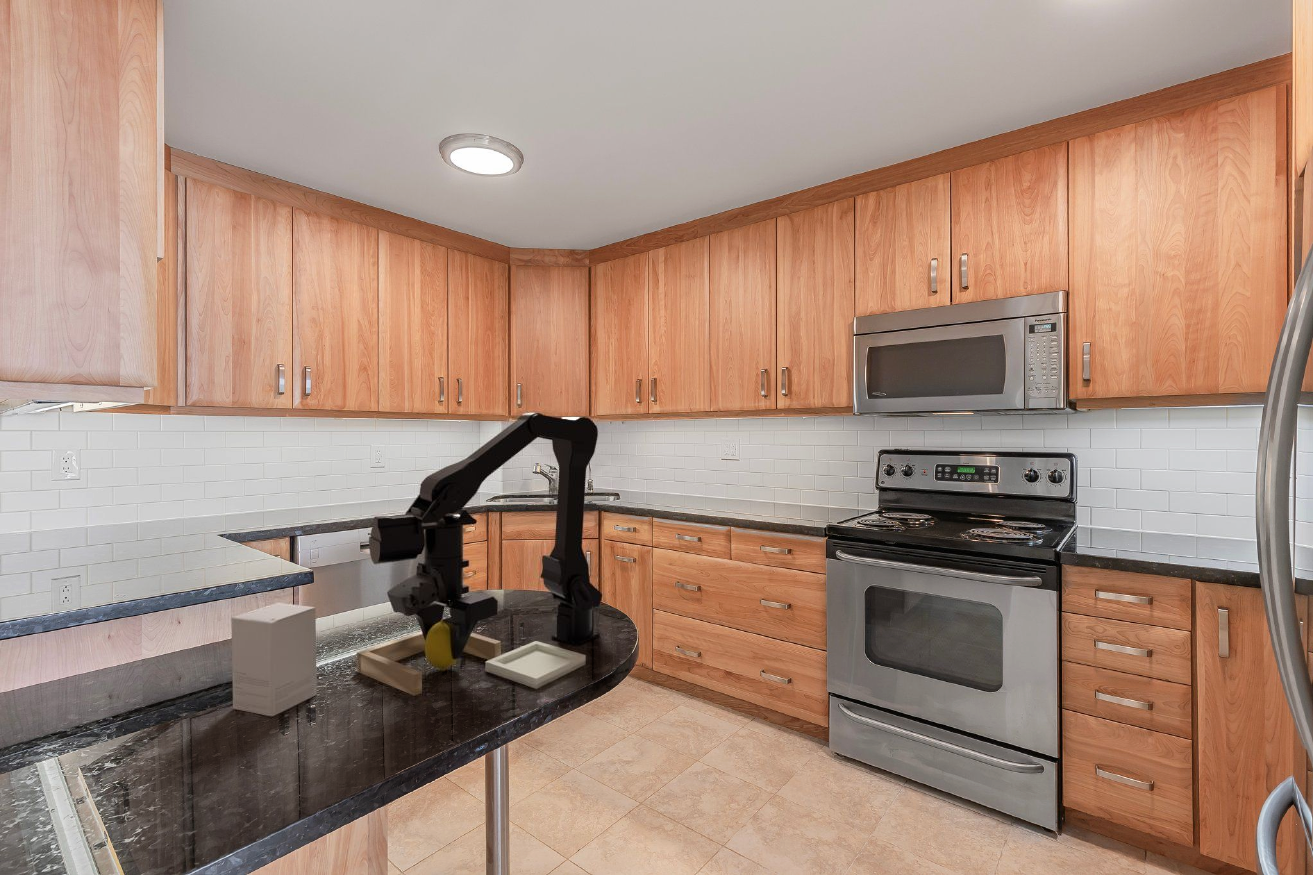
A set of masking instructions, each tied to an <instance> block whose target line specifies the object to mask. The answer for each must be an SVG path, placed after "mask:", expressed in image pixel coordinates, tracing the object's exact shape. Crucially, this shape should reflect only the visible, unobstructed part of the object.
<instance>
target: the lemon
mask: <svg viewBox="0 0 1313 875" xmlns="http://www.w3.org/2000/svg"><path fill="white" fill-rule="evenodd" d="M442 620H443V619H442ZM442 620H441V622H439V623H437V624H435V625H434V626H433V627H432V628H431V629H430V630H429V632H428V634H427V637H426V641H425V651H424V654H425V657H426V660H427V661H428V663H429V664H430V665H431V666H433V667H434V668H439V669H440V670H441V671H443V672H444V671H446V670H447V669H448V668H449V667H451V666H453V665H454V664H455V663H456V662H457V661H458V659H459V658H458V659H453V658H452V652H451V640H450V628H449V626H447V625H446V624H445V623H444V622H443V621H442Z"/></svg>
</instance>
